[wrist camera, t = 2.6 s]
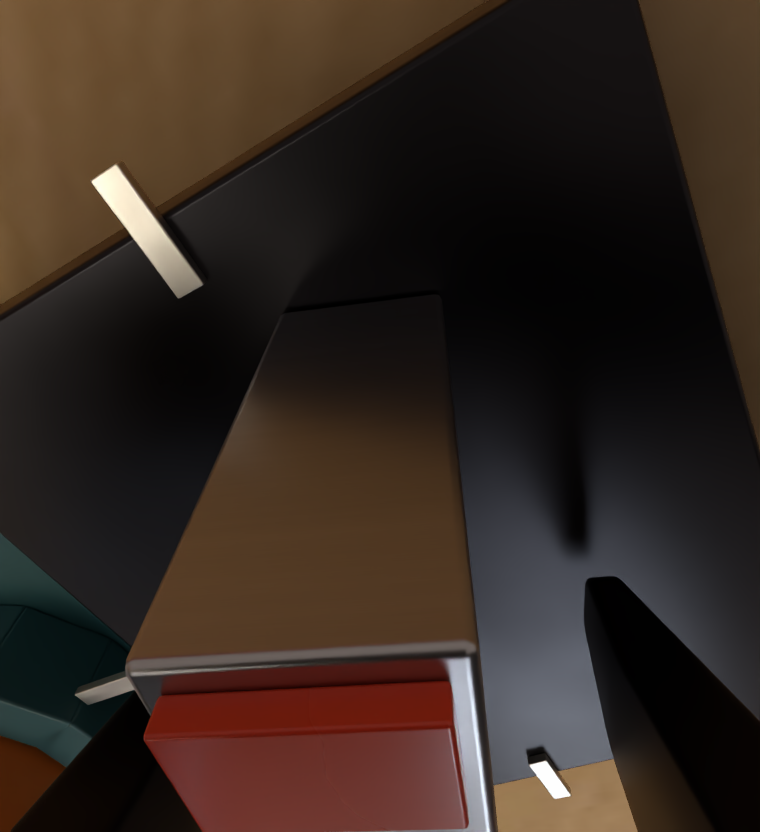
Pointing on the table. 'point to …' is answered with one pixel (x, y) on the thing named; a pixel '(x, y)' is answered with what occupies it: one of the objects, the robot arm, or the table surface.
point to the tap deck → (466, 345)
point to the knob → (327, 596)
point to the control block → (51, 660)
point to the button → (22, 779)
